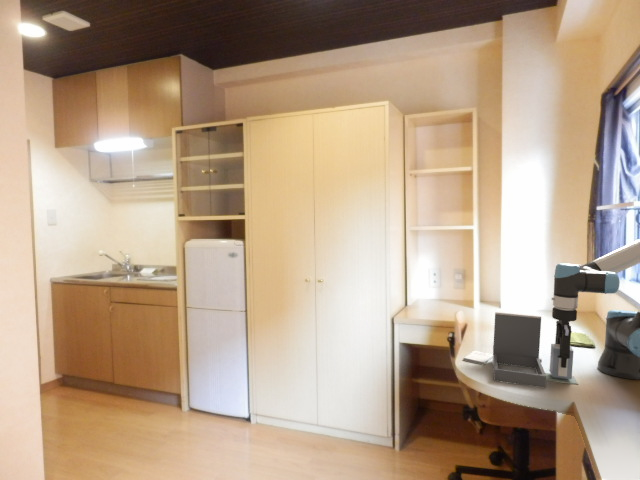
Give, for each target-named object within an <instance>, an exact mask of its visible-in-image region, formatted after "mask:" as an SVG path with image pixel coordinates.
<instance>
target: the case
mask: <svg viewBox="0 0 640 480" xmlns="http://www.w3.org/2000/svg"><path fill="white" fill-rule="evenodd" d="M541 326H542V316H540V315H534V314H533V315H531V314H522V313H521V314H519V313H511V312H500V311H499V312H498V311H495V312H494V328H493V331H494V332H493V348H492V354H493V358H492V368H493V369H492V370H493V371H494V372H493V380H494V382H495V381H496V382H500V381H502V383H507V382H508V384H509V383H510V384H514V383H516V384H515V385H523V386H528V387H536V388H542V389H543V388H544V389H546V386H547V380H546V374H545V373H546V371H545V370H544V367H543V365H542V362H543V361H542V360H543V359H542V357H541V356H540V343H541V342H540V341H541V329H542V327H541ZM498 365H504V366H505V365H506V366H512V367H520V368H527V369H528V368H529V369H535V372H536V373H532V372H531V373H530V372H523V371H516V370H509V369H501V368H499V366H498Z"/></svg>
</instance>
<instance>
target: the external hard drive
mask: <svg viewBox="0 0 640 480" xmlns="http://www.w3.org/2000/svg"><path fill="white" fill-rule="evenodd" d="M462 359H463V360H462V361H464V362H470V363H473V364H478V365H482V364H483V365H482V366H485V365H486V364H488V363H489V362H490V361H491V360H493V353H487V352H482V351H479V350H473V351H471V352H470V353H468V354H466V356H464V357H463V358H462ZM489 360H490V361H489ZM488 361H489V362H488Z"/></svg>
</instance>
